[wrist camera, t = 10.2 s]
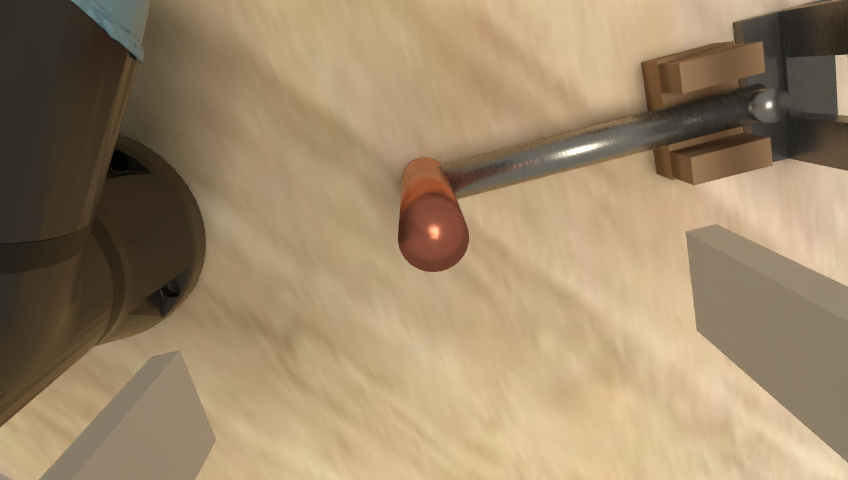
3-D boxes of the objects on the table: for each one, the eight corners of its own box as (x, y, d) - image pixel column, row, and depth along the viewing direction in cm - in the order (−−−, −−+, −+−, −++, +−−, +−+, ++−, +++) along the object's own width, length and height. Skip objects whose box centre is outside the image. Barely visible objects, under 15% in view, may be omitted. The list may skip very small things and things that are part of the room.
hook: (408, 207, 40) (408, 279, 26) (397, 164, 39) (389, 213, 25) (743, 121, 39) (938, 146, 25) (739, 75, 38) (938, 73, 24)
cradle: (656, 173, 41) (694, 188, 36) (641, 62, 39) (678, 59, 33) (724, 156, 41) (772, 168, 35) (713, 43, 39) (762, 38, 33)
